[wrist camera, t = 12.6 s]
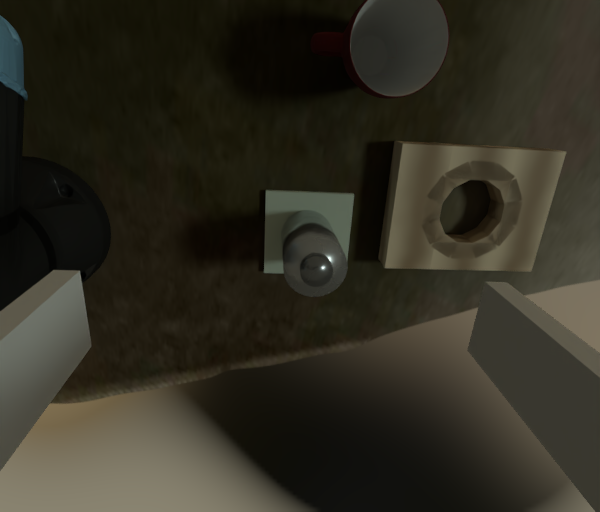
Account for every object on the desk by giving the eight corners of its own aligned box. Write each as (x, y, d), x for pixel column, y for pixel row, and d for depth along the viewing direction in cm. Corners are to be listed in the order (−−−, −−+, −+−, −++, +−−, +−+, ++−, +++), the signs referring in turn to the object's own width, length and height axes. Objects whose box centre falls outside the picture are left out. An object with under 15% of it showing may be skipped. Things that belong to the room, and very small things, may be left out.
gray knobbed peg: (280, 258, 47) (282, 300, 36) (282, 208, 45) (285, 239, 34) (329, 259, 47) (345, 302, 37) (334, 211, 45) (352, 241, 35)
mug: (307, 102, 41) (318, 102, 32) (304, 13, 38) (315, -16, 29) (406, 97, 42) (445, 95, 32) (410, 9, 39) (455, -21, 29)
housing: (378, 258, 48) (384, 268, 46) (394, 140, 43) (402, 143, 40) (516, 261, 50) (531, 271, 47) (547, 148, 45) (566, 151, 42)
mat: (263, 270, 48) (263, 272, 47) (265, 189, 44) (265, 190, 44) (344, 272, 49) (345, 274, 48) (353, 193, 45) (354, 194, 45)
